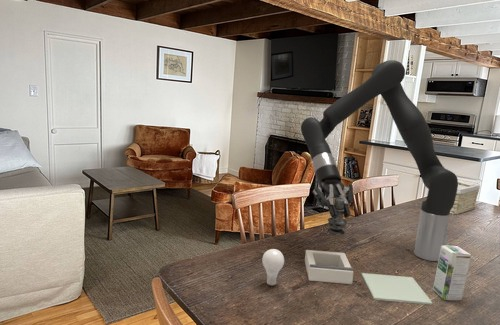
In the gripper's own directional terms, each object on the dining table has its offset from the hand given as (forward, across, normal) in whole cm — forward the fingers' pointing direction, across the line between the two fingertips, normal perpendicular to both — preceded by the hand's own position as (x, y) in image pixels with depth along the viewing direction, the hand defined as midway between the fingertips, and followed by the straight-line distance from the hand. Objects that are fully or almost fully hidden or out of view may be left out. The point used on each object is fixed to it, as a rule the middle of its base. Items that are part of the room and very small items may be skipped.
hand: (341, 217), depth 106 cm
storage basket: (-24, +105, +54) cm, 120 cm away
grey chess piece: (+3, 0, +6) cm, 6 cm away
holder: (+12, -1, +16) cm, 20 cm away
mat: (+21, +14, +6) cm, 26 cm away
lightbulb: (+15, -22, +13) cm, 30 cm away
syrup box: (+26, +28, +2) cm, 38 cm away
